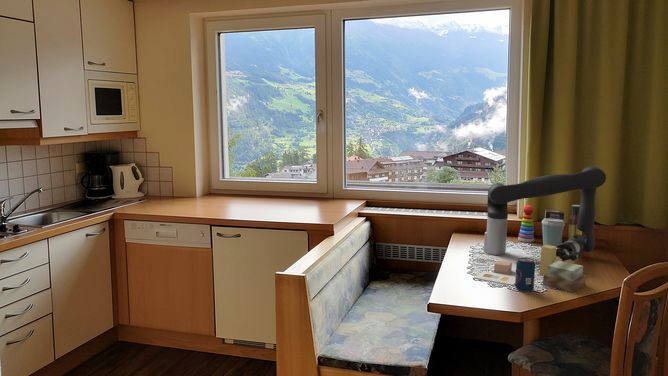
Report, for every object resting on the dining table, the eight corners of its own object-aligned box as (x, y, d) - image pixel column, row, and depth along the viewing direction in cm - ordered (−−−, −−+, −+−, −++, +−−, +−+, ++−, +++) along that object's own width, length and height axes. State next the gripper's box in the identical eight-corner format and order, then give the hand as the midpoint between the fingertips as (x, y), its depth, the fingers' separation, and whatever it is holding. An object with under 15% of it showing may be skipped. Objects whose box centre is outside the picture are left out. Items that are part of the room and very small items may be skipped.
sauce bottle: (581, 243, 295) (584, 204, 292) (580, 246, 289) (584, 207, 286) (567, 241, 297) (570, 203, 294) (566, 244, 292) (569, 205, 289)
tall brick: (539, 274, 243) (541, 246, 241) (544, 271, 246) (546, 244, 244) (549, 276, 240) (551, 248, 238) (554, 274, 243) (556, 246, 241)
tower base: (542, 285, 229) (544, 265, 228) (555, 278, 238) (557, 259, 236) (573, 292, 221) (574, 272, 220) (585, 285, 229) (586, 265, 228)
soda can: (512, 286, 227) (513, 257, 225) (529, 286, 228) (531, 256, 226) (518, 292, 220) (520, 262, 218) (536, 292, 221) (538, 261, 219)
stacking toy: (535, 243, 294) (537, 207, 291) (518, 242, 295) (521, 206, 292) (533, 239, 302) (535, 204, 299) (517, 238, 303) (519, 203, 300)
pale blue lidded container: (543, 242, 297) (545, 211, 294) (542, 239, 303) (544, 209, 300) (562, 243, 294) (564, 212, 291) (561, 240, 300) (563, 210, 297)
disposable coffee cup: (540, 245, 290) (542, 216, 288) (563, 247, 286) (565, 217, 284) (539, 250, 280) (541, 220, 278) (563, 252, 276) (565, 222, 274)
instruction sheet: (474, 278, 237) (474, 277, 237) (483, 271, 246) (483, 270, 246) (513, 285, 228) (513, 284, 228) (521, 278, 237) (521, 277, 237)
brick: (493, 272, 245) (494, 263, 245) (497, 269, 250) (497, 260, 250) (508, 275, 242) (508, 265, 242) (511, 271, 248) (511, 262, 247)
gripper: (553, 238, 261) (537, 245, 250) (585, 244, 252) (570, 251, 240) (551, 254, 262) (536, 262, 251) (583, 261, 253) (569, 269, 241)
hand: (552, 257), depth 245 cm, fingers open, 8 cm apart
